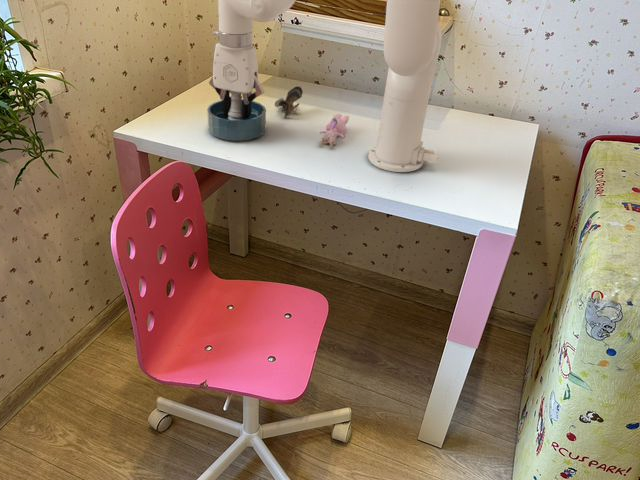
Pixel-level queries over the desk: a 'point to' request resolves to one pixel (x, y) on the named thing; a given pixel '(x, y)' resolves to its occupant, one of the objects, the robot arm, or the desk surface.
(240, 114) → the rook chess piece
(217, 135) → the bowl
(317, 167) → the desk surface
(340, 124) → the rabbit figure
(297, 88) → the eagle figurine
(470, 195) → the desk surface
